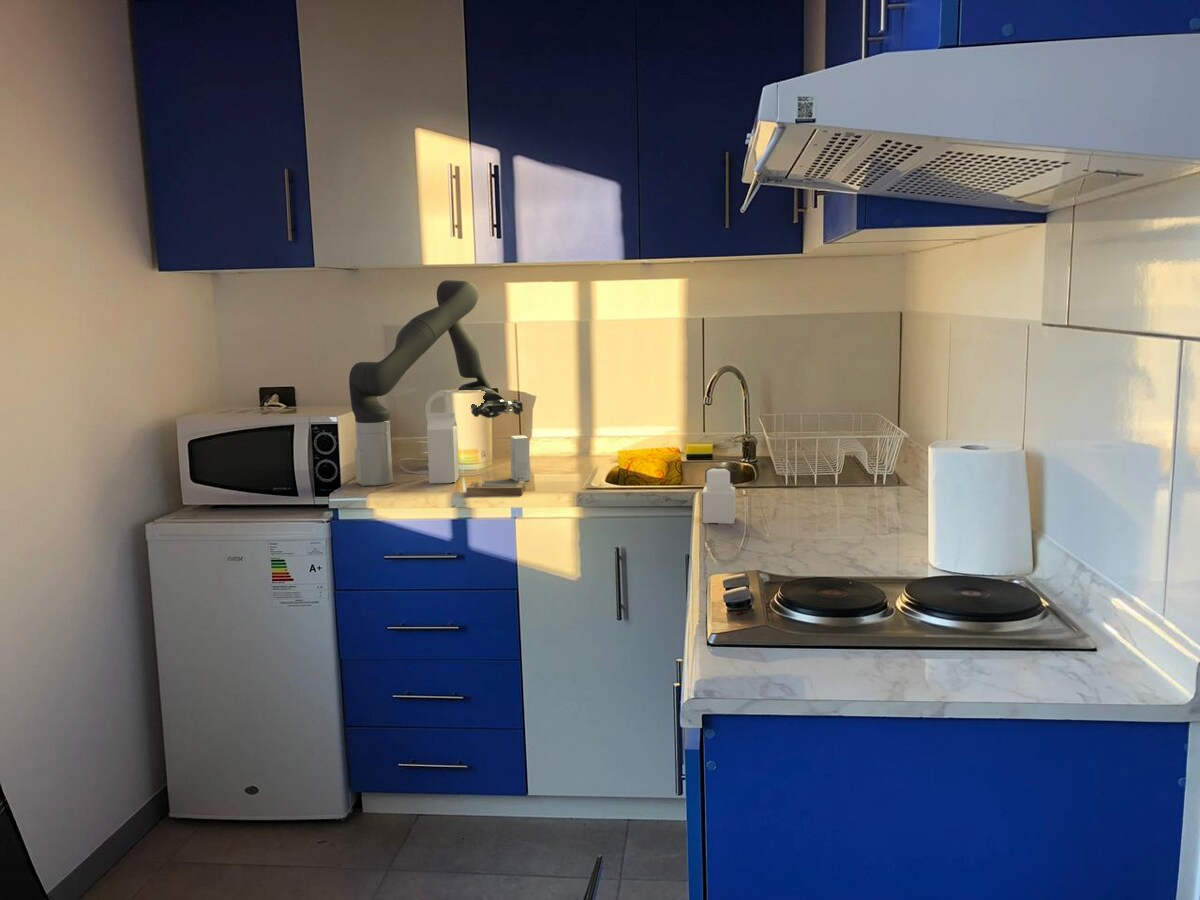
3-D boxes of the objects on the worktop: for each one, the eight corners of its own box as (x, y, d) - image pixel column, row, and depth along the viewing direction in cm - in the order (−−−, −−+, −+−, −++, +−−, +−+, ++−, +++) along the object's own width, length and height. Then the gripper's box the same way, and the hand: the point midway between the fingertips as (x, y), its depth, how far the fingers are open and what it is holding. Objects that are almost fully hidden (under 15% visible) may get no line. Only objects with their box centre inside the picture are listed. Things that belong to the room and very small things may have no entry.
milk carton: (455, 483, 286) (452, 414, 283) (429, 484, 286) (426, 414, 283) (459, 478, 293) (456, 411, 290) (433, 479, 293) (430, 411, 290)
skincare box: (530, 480, 288) (529, 437, 287) (515, 482, 287) (514, 438, 285) (525, 477, 294) (524, 434, 292) (510, 478, 293) (509, 435, 291)
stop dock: (478, 482, 287) (477, 475, 287) (529, 482, 287) (528, 474, 286) (467, 496, 269) (466, 488, 268) (521, 495, 268) (521, 487, 268)
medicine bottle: (703, 516, 240) (703, 465, 238) (735, 517, 239) (735, 465, 237) (701, 523, 233) (701, 470, 232) (734, 524, 232) (734, 470, 230)
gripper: (464, 392, 306) (477, 402, 292) (511, 387, 311) (527, 396, 296) (465, 417, 308) (479, 428, 294) (512, 412, 313) (528, 422, 298)
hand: (503, 412), depth 295 cm, fingers open, 8 cm apart
